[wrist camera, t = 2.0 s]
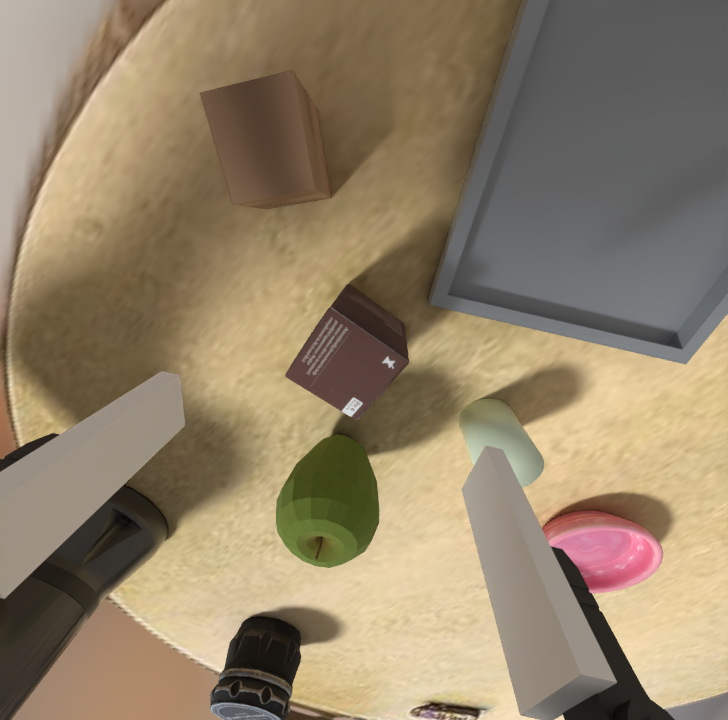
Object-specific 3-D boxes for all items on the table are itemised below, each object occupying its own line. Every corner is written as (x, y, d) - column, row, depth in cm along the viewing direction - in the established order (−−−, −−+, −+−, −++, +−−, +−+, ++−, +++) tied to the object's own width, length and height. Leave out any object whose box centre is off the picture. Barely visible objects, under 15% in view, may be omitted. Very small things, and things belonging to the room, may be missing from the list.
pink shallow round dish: (530, 570, 37) (542, 599, 34) (517, 509, 32) (529, 536, 29) (639, 559, 34) (661, 589, 31) (641, 490, 29) (668, 519, 26)
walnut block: (267, 209, 21) (232, 204, 16) (246, 125, 19) (199, 93, 14) (332, 197, 20) (314, 189, 16) (317, 109, 18) (292, 70, 13)
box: (348, 281, 22) (330, 303, 16) (406, 324, 24) (413, 361, 17) (310, 337, 25) (281, 376, 18) (365, 373, 26) (356, 423, 19)
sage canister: (451, 433, 28) (466, 482, 23) (470, 393, 26) (491, 436, 20) (499, 444, 28) (525, 496, 23) (522, 404, 26) (556, 451, 21)
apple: (380, 476, 31) (375, 598, 21) (307, 470, 32) (268, 586, 22) (383, 413, 28) (379, 525, 17) (301, 408, 28) (249, 513, 18)
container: (288, 654, 55) (268, 737, 46) (228, 631, 52) (194, 714, 44) (317, 631, 49) (301, 721, 40) (252, 605, 47) (219, 693, 38)
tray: (427, 299, 22) (430, 305, 21) (551, -95, 14) (572, -138, 12) (664, 354, 23) (685, 364, 21) (936, 2, 14) (1008, -28, 12)
